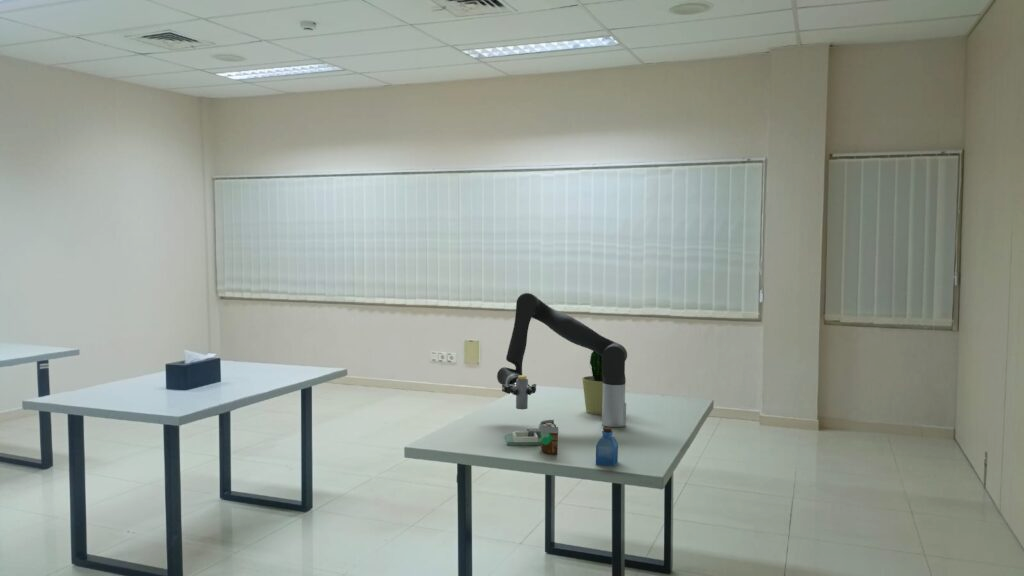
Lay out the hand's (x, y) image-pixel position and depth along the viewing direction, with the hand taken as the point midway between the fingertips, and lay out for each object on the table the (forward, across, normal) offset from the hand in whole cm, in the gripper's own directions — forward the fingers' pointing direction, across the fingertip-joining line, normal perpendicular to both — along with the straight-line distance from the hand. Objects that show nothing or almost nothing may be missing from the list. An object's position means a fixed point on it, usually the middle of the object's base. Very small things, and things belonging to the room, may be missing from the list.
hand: (523, 392), depth 275 cm
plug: (-3, 0, +6) cm, 7 cm away
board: (+2, 0, +18) cm, 18 cm away
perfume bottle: (+33, +23, +18) cm, 44 cm away
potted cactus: (-45, +42, +18) cm, 64 cm away
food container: (+17, +6, +18) cm, 25 cm away
